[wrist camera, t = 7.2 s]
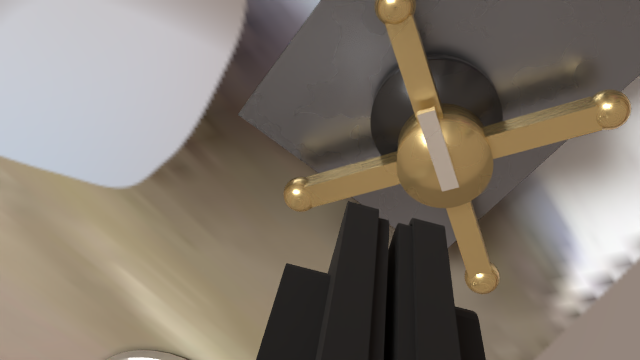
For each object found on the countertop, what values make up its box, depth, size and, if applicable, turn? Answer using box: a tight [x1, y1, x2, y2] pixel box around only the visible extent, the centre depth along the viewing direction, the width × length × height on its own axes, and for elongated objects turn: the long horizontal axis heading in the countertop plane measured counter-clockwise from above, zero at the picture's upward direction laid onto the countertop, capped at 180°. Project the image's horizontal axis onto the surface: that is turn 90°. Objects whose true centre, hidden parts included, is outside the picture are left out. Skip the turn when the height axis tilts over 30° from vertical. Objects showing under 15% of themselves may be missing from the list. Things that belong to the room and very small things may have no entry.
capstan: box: [284, 0, 631, 294], centre depth 29 cm, size 17×17×4 cm
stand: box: [238, 0, 640, 248], centre depth 24 cm, size 22×14×15 cm, turn 143°
